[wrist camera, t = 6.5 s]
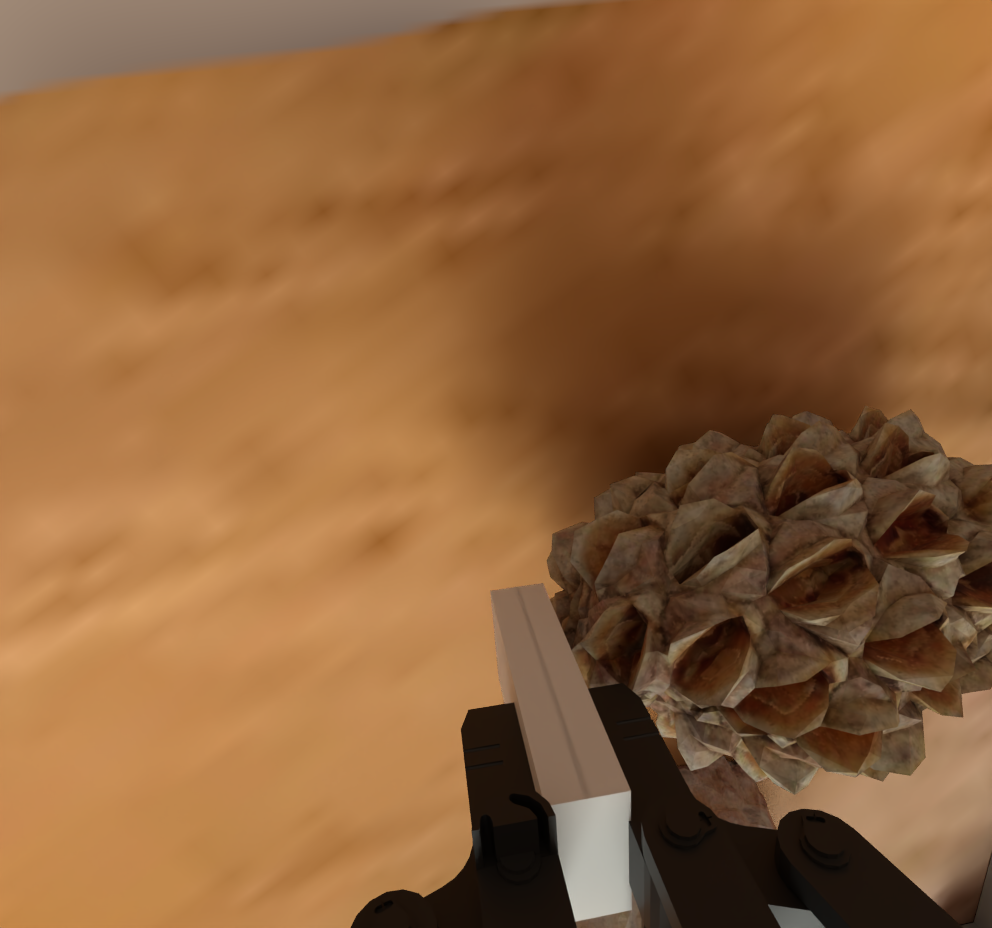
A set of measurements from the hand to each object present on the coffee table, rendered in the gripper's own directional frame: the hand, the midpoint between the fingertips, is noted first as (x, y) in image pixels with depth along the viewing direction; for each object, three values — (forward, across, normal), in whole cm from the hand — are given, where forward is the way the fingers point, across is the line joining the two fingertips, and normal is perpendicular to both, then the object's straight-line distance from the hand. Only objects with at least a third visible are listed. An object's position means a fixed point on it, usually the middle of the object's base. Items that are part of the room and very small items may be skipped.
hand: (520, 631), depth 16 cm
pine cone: (+5, -12, 0) cm, 13 cm away
